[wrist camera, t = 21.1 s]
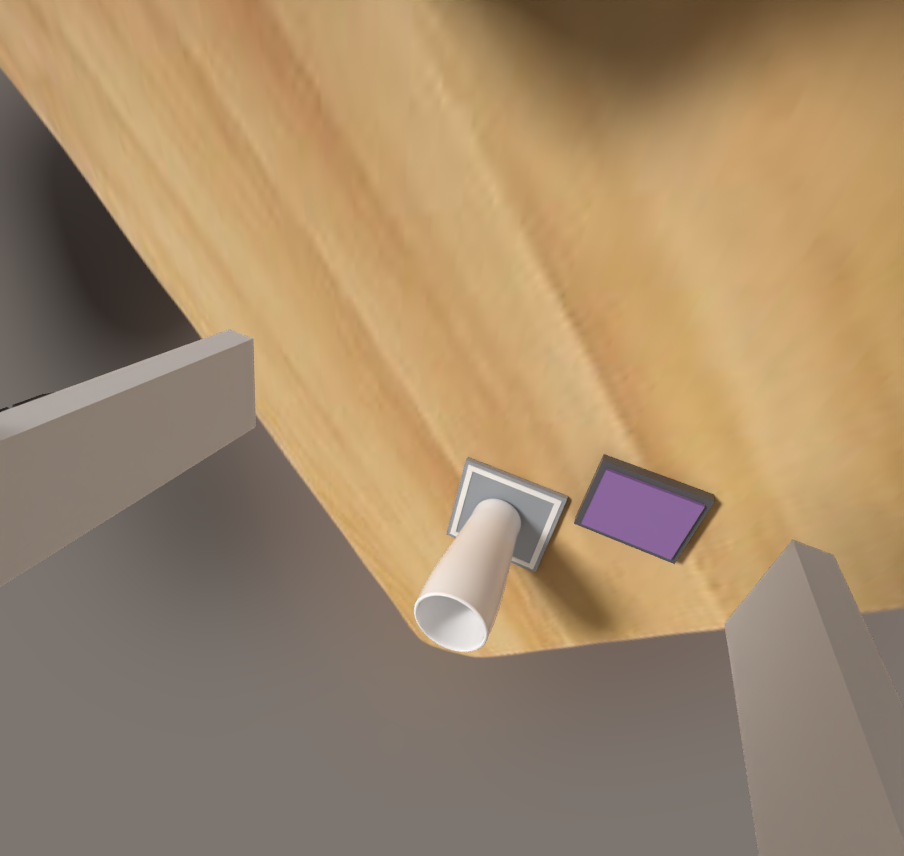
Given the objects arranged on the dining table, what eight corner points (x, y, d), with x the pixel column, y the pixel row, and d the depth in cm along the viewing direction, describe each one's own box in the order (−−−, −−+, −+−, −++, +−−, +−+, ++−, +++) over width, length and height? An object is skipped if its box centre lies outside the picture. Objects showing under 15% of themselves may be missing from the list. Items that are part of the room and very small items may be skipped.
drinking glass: (466, 486, 52) (406, 585, 39) (527, 493, 49) (485, 601, 37) (471, 536, 54) (418, 643, 42) (530, 545, 52) (491, 661, 40)
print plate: (448, 531, 56) (446, 534, 56) (468, 457, 51) (465, 460, 50) (536, 569, 54) (535, 573, 53) (567, 496, 48) (566, 500, 48)
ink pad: (575, 516, 49) (573, 525, 48) (603, 454, 45) (602, 462, 43) (674, 555, 47) (674, 566, 46) (713, 494, 43) (715, 504, 41)
